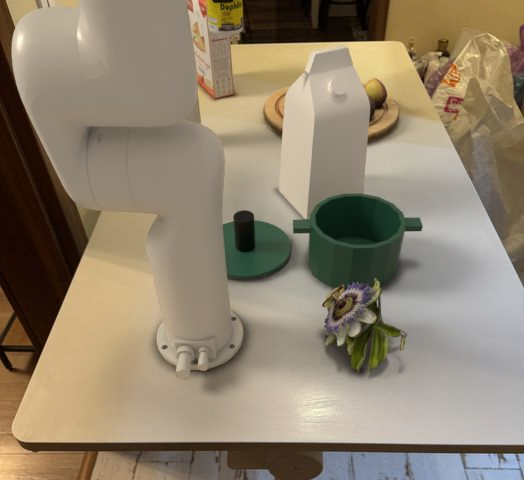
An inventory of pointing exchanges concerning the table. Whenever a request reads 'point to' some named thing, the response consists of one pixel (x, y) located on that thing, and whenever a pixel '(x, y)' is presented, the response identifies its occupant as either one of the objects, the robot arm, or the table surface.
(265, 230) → the lid
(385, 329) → the passion flower
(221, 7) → the supplement bottle
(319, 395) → the table surface
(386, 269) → the pot
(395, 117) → the wooden plate
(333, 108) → the milk
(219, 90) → the cracker box
